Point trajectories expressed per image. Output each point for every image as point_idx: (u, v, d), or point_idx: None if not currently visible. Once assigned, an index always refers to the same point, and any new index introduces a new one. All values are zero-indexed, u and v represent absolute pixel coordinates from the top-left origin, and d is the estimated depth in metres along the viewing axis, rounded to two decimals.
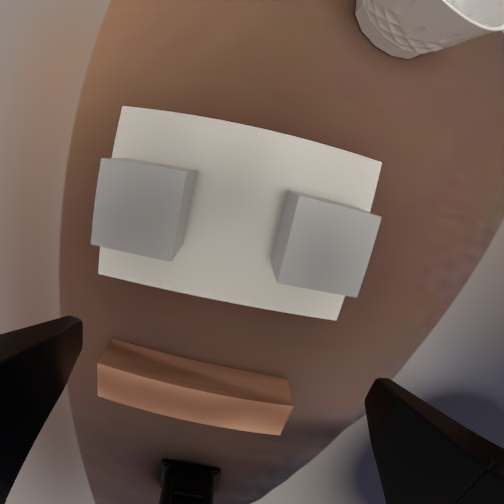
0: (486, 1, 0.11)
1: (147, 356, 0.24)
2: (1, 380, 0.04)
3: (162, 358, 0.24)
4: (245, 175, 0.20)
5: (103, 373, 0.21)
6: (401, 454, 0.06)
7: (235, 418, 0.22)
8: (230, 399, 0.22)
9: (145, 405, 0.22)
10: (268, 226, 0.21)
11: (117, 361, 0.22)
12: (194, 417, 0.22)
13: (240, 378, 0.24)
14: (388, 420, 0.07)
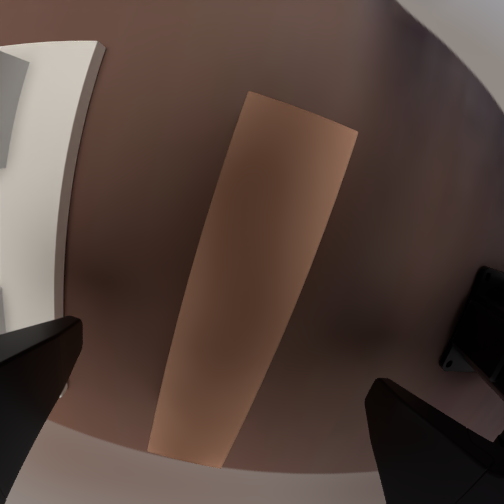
0: None
1: None
2: (1, 380, 0.04)
3: None
4: None
5: (166, 450, 0.12)
6: (401, 454, 0.06)
7: (274, 241, 0.10)
8: (206, 245, 0.10)
9: (232, 412, 0.12)
10: None
11: None
12: (265, 332, 0.11)
13: None
14: (388, 420, 0.07)
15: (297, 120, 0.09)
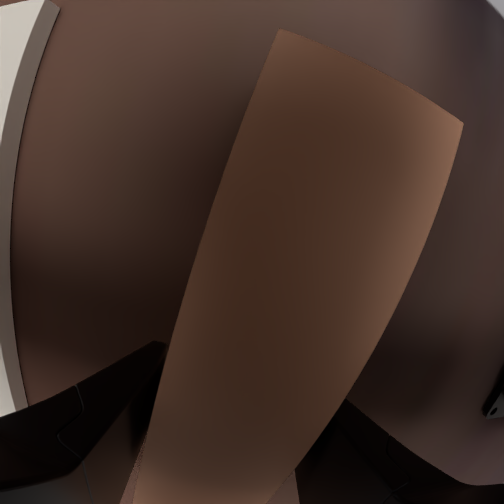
0: None
1: None
2: (118, 428, 0.05)
3: None
4: None
5: None
6: (313, 457, 0.06)
7: (319, 313, 0.05)
8: (192, 320, 0.05)
9: None
10: None
11: None
12: (290, 440, 0.06)
13: None
14: None
15: (370, 89, 0.04)
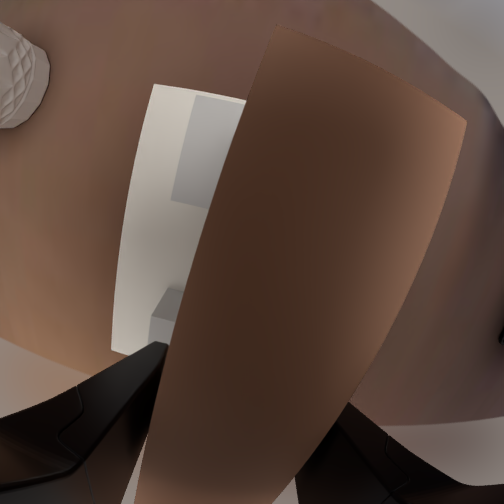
0: None
1: None
2: (119, 428, 0.05)
3: None
4: (172, 239, 0.19)
5: None
6: (311, 457, 0.06)
7: (320, 318, 0.05)
8: (190, 326, 0.05)
9: None
10: None
11: None
12: (291, 445, 0.06)
13: None
14: None
15: (371, 87, 0.04)
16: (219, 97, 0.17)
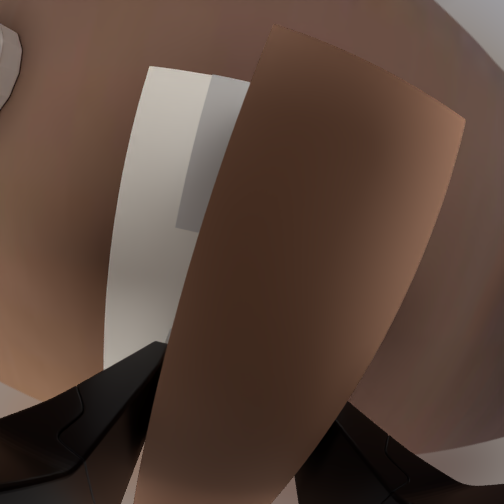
0: None
1: None
2: (119, 428, 0.05)
3: None
4: (174, 269, 0.15)
5: None
6: (311, 457, 0.06)
7: (318, 317, 0.05)
8: (189, 326, 0.05)
9: None
10: None
11: None
12: (290, 445, 0.06)
13: None
14: None
15: (368, 86, 0.04)
16: None
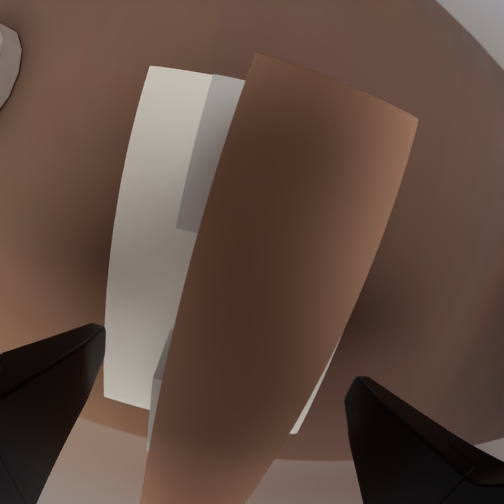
0: None
1: None
2: (30, 394, 0.04)
3: None
4: (174, 270, 0.15)
5: None
6: (378, 456, 0.06)
7: (299, 283, 0.06)
8: (195, 293, 0.06)
9: (239, 484, 0.08)
10: None
11: None
12: (283, 402, 0.07)
13: None
14: (366, 420, 0.07)
15: (332, 97, 0.05)
16: None
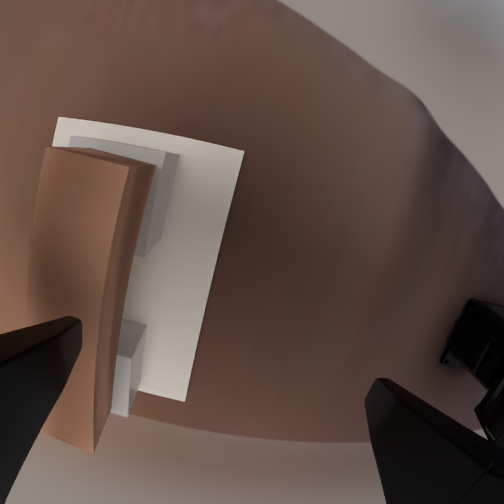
0: None
1: None
2: (1, 380, 0.04)
3: None
4: None
5: (50, 430, 0.13)
6: (401, 454, 0.06)
7: (74, 267, 0.11)
8: (33, 270, 0.10)
9: (82, 404, 0.12)
10: None
11: None
12: (84, 339, 0.11)
13: None
14: (388, 420, 0.07)
15: (79, 165, 0.10)
16: (112, 126, 0.17)
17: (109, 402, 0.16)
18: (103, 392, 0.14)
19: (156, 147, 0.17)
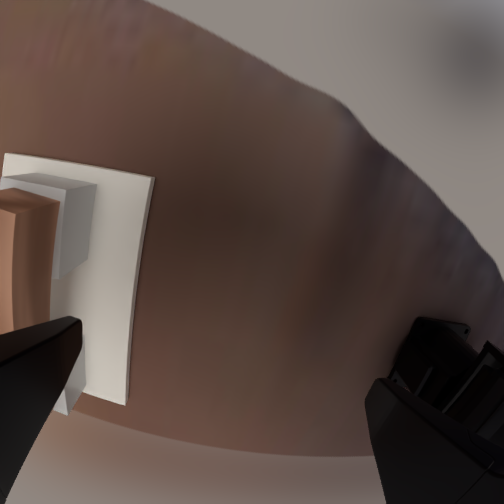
0: None
1: None
2: (1, 380, 0.04)
3: None
4: None
5: None
6: (401, 454, 0.06)
7: None
8: None
9: None
10: None
11: None
12: None
13: None
14: (388, 420, 0.07)
15: None
16: (44, 161, 0.17)
17: None
18: None
19: (78, 178, 0.18)
